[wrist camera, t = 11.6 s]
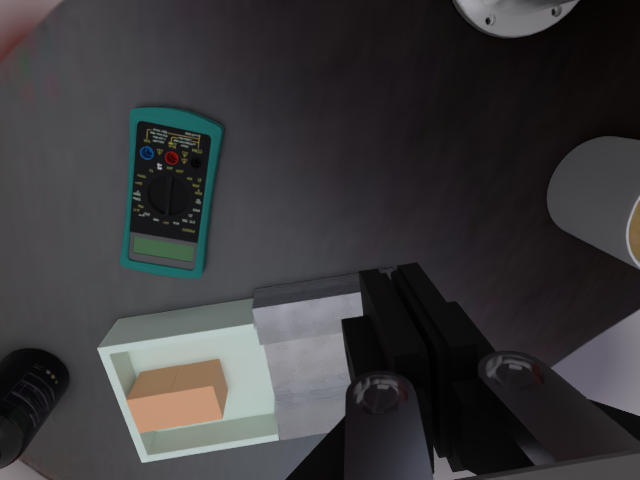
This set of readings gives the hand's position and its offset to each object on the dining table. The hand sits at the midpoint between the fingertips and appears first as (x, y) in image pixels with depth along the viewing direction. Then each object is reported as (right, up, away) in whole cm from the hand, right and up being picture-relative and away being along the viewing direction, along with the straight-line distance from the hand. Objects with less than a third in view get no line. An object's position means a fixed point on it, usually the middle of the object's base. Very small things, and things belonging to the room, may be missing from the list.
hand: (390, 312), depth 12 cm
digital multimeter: (-15, +6, +26) cm, 31 cm away
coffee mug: (+26, +6, +29) cm, 40 cm away
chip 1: (-18, -13, +30) cm, 37 cm away
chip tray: (-14, -11, +32) cm, 37 cm away
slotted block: (-1, -9, +32) cm, 34 cm away
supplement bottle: (-32, -12, +31) cm, 46 cm away
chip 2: (-14, -12, +30) cm, 35 cm away
